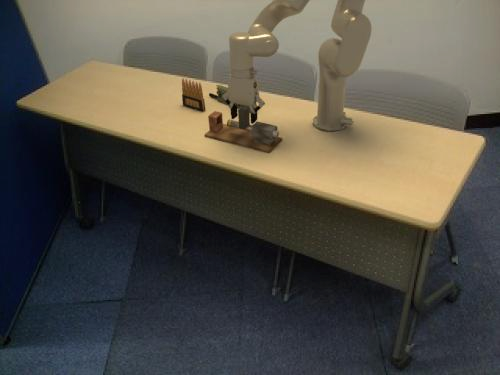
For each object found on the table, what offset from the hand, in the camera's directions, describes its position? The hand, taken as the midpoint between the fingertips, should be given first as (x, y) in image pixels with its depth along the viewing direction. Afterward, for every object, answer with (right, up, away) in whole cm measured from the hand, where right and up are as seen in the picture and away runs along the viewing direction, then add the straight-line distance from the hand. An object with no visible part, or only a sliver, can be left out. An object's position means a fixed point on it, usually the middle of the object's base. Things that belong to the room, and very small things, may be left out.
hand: (244, 119), depth 167 cm
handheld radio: (-5, +10, +29) cm, 31 cm away
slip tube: (+3, -4, +1) cm, 5 cm away
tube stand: (0, -6, +5) cm, 8 cm away
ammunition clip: (-21, +8, +27) cm, 35 cm away
